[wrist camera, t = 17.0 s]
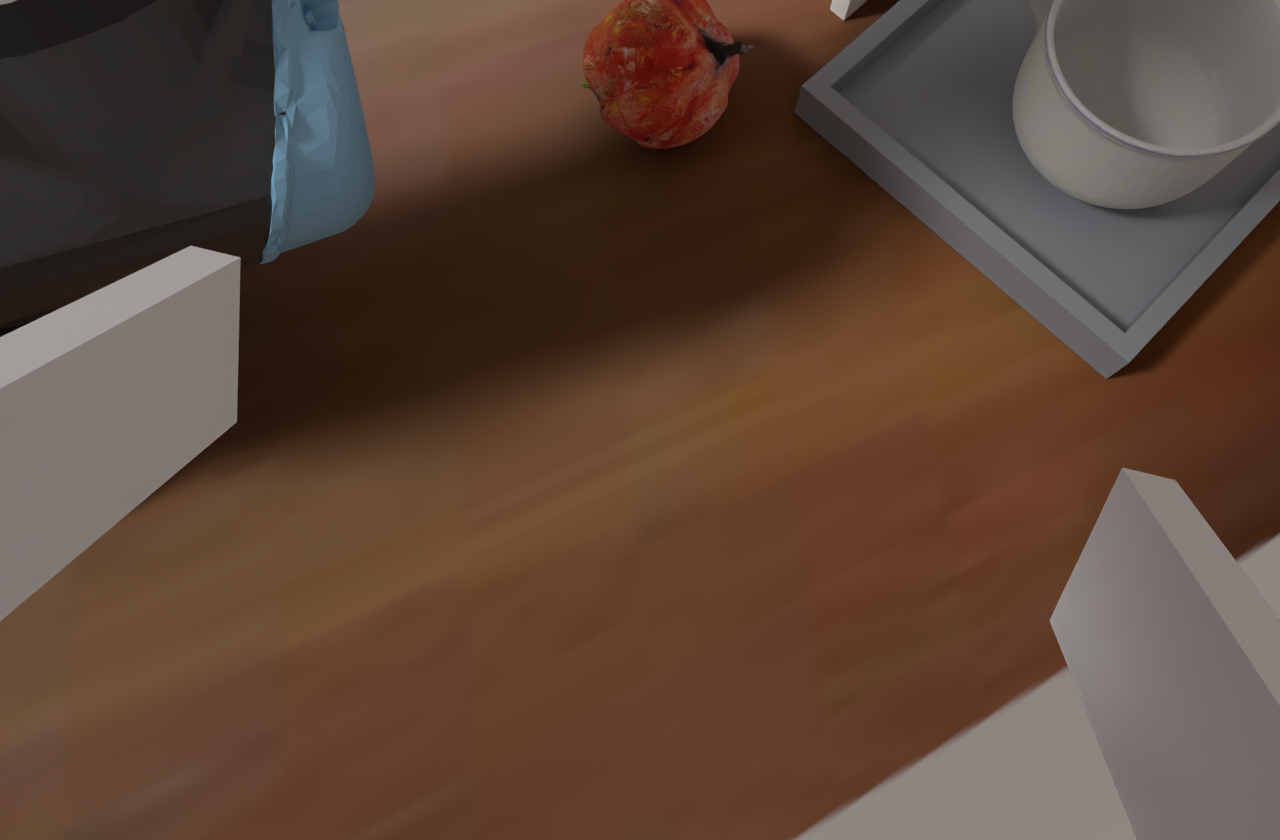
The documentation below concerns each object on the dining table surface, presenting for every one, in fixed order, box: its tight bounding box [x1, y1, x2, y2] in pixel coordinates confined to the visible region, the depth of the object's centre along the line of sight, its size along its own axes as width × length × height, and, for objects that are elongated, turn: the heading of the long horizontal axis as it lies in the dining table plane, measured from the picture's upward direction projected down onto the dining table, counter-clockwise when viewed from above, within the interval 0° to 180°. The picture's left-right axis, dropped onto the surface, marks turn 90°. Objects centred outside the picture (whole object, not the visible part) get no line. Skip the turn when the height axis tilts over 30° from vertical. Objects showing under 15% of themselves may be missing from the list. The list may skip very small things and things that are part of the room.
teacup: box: [1012, 0, 1280, 209], centre depth 46 cm, size 14×11×8 cm
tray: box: [794, 0, 1280, 379], centre depth 50 cm, size 20×20×2 cm
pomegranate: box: [582, 0, 754, 149], centre depth 47 cm, size 7×7×10 cm
